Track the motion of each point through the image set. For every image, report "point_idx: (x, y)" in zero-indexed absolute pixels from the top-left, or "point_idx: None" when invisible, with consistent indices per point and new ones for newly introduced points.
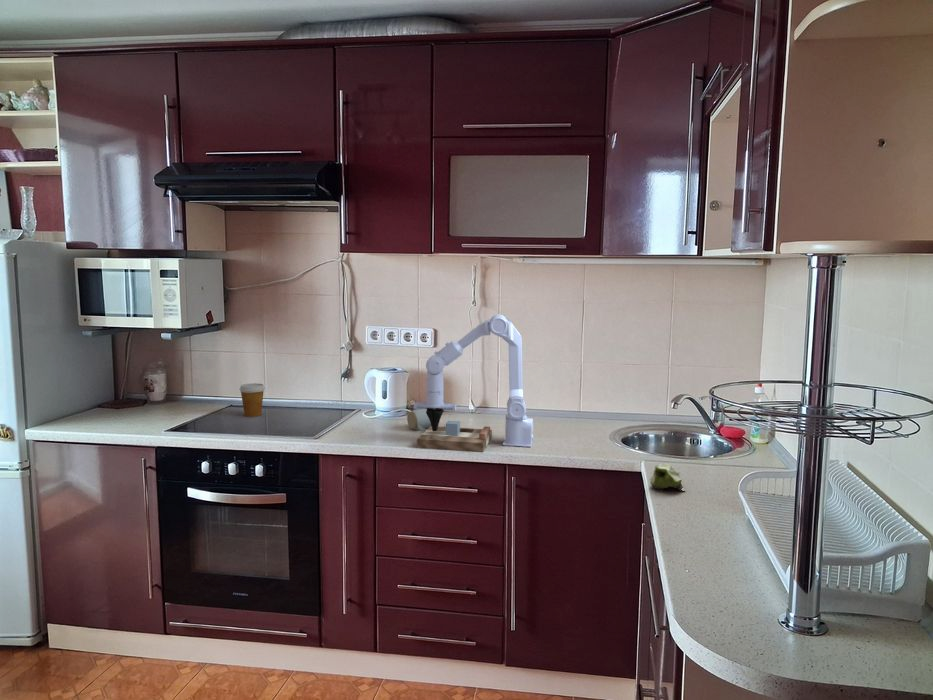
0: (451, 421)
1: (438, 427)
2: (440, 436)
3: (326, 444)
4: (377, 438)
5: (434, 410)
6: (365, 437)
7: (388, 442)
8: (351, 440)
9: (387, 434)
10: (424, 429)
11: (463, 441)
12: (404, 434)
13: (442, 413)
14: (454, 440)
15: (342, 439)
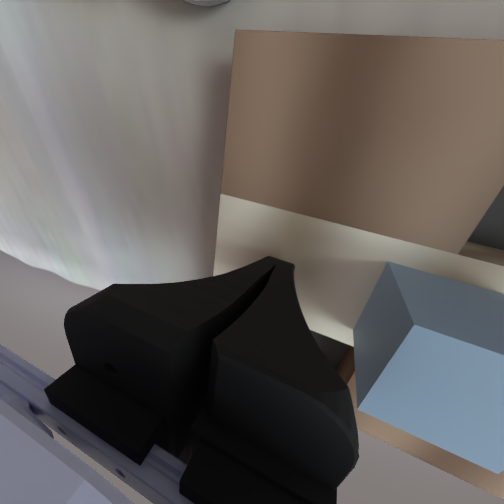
0: (452, 364)
1: (310, 81)
2: (316, 327)
3: (9, 251)
4: (66, 186)
5: (178, 431)
6: (31, 172)
7: (118, 245)
8: (25, 213)
9: (64, 107)
10: (201, 2)
11: (450, 468)
12: (123, 93)
13: (326, 366)
14: (392, 434)
15: (2, 201)
